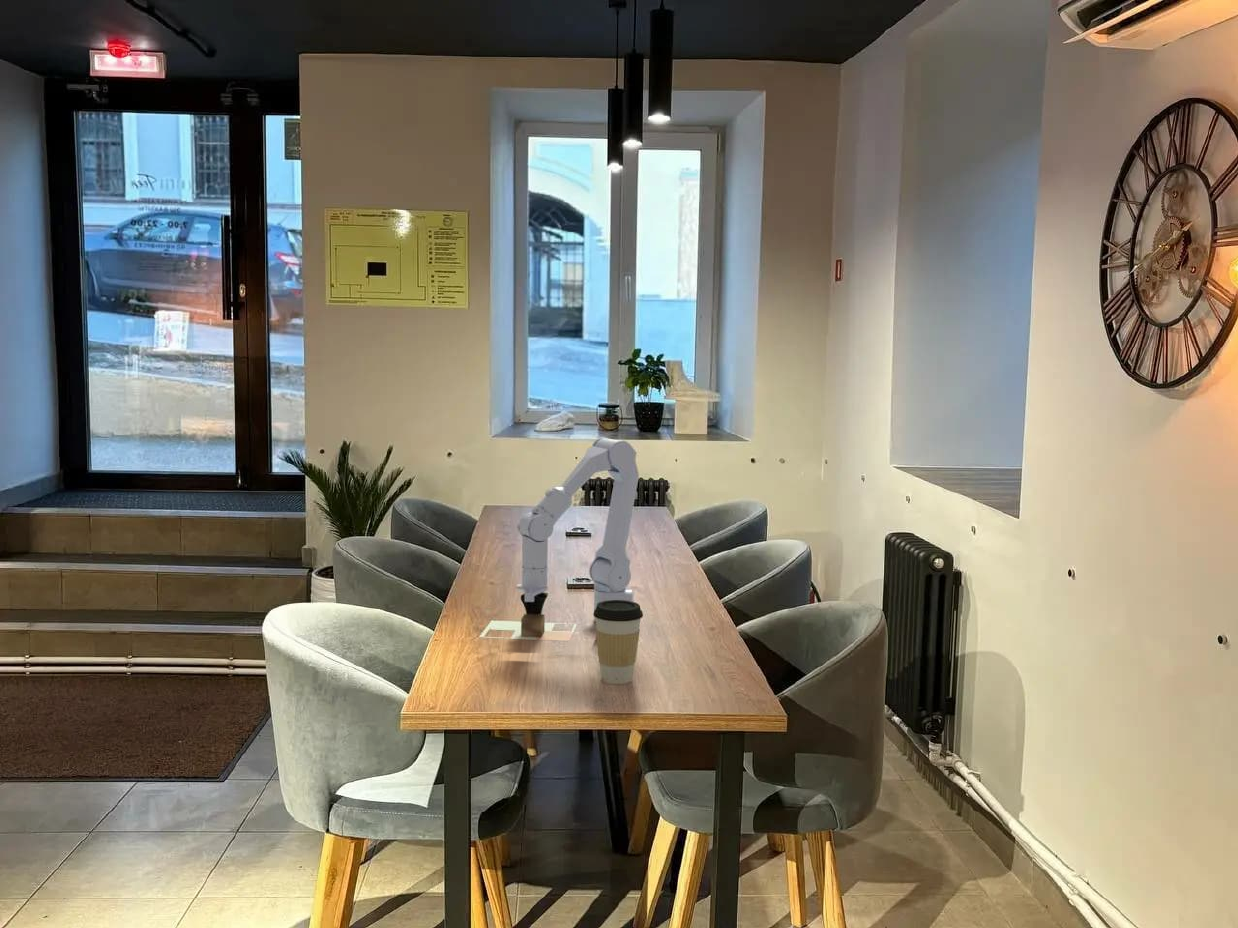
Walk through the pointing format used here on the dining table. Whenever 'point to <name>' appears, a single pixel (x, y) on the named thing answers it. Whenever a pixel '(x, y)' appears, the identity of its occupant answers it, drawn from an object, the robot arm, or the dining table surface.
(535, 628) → the block
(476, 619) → the dining table surface
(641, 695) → the dining table surface
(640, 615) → the coffee cup
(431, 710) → the dining table surface
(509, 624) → the board
